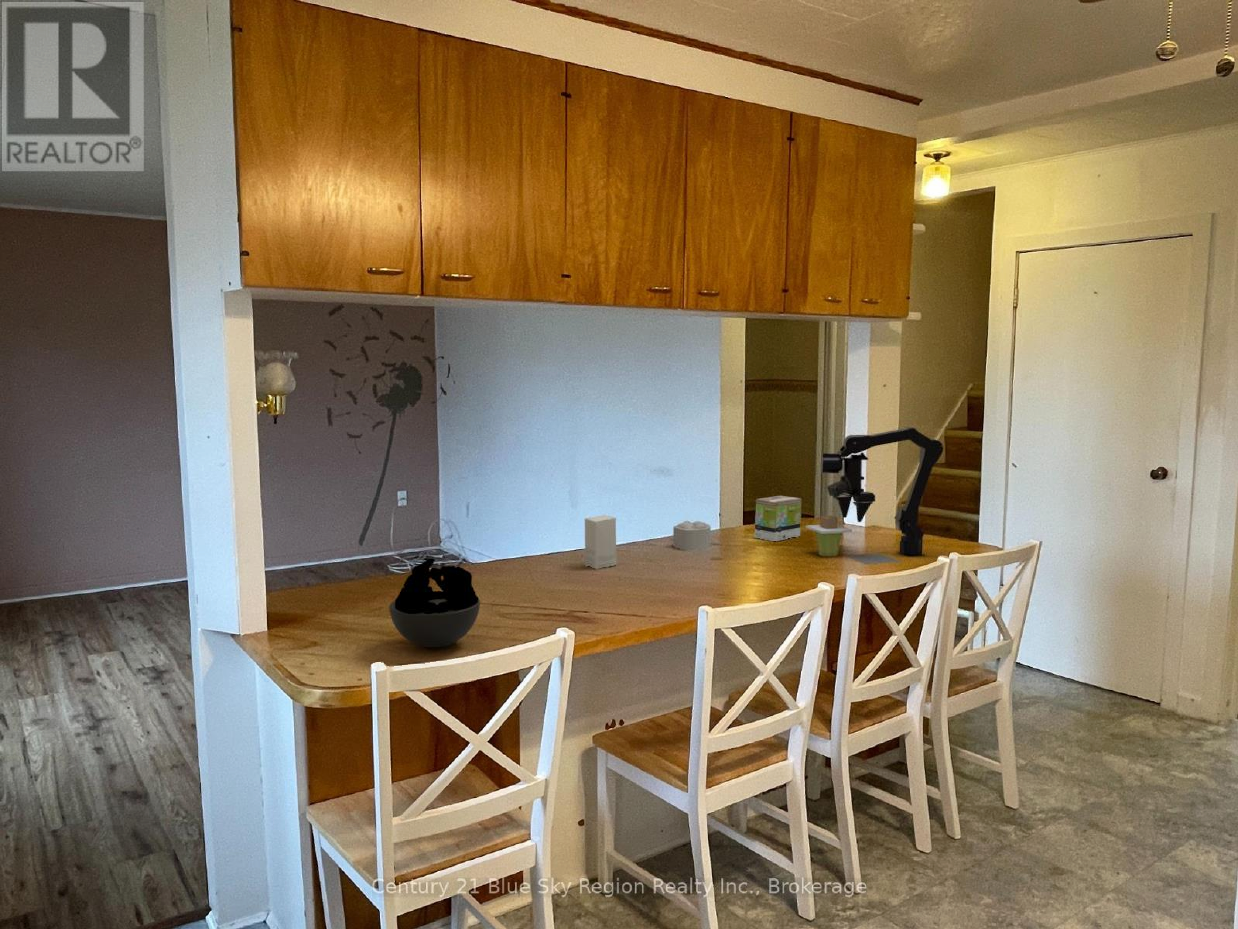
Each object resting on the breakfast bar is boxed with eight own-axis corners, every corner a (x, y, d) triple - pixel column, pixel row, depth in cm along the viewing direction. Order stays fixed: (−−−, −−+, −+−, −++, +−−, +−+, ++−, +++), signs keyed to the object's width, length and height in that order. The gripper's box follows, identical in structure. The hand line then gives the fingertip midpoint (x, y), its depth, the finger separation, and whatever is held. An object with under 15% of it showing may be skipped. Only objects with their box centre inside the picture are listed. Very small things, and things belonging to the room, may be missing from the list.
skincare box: (605, 562, 283) (605, 514, 281) (617, 566, 277) (617, 517, 276) (583, 566, 278) (583, 517, 276) (595, 570, 272) (595, 520, 271)
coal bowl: (467, 661, 188) (465, 575, 186) (377, 659, 190) (374, 574, 188) (490, 633, 208) (488, 555, 206) (407, 631, 210) (405, 554, 208)
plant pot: (840, 552, 296) (841, 527, 295) (844, 558, 287) (845, 532, 286) (812, 552, 297) (812, 527, 296) (815, 558, 288) (816, 532, 287)
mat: (879, 554, 294) (879, 553, 293) (902, 562, 281) (902, 561, 281) (844, 556, 290) (844, 555, 290) (866, 565, 278) (866, 564, 277)
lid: (834, 526, 298) (835, 513, 298) (852, 532, 288) (852, 519, 287) (805, 527, 295) (805, 515, 294) (822, 533, 284) (822, 521, 284)
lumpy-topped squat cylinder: (669, 546, 308) (669, 521, 307) (699, 542, 315) (699, 518, 314) (687, 551, 299) (687, 526, 298) (717, 547, 306) (717, 522, 305)
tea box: (776, 542, 314) (776, 501, 312) (753, 538, 321) (754, 498, 320) (801, 537, 324) (802, 497, 322) (779, 533, 331) (779, 494, 330)
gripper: (816, 471, 298) (816, 516, 300) (845, 477, 280) (845, 526, 282) (846, 469, 301) (845, 514, 303) (876, 476, 283) (875, 523, 285)
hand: (851, 519), depth 293 cm, fingers open, 9 cm apart
